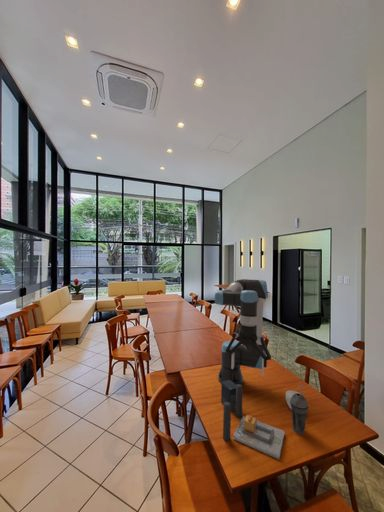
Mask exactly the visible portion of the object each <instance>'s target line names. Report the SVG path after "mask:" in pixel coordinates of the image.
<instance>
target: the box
mask: <svg viewBox="0 0 384 512" xmlns="http://www.w3.org/2000/svg"><path fill="white" fill-rule="evenodd" d="M220 387H221V390H220V392H221V394H220V395H221V398H220V401H221V404H223V405H224V403H225V402H229V403H230V404H231V411H234V410H236V384H234V383H233V382H232V381H231V380H227V381H223V382H222V383H221V385H220Z"/></svg>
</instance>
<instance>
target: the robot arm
mask: <svg viewBox="0 0 384 512" xmlns="http://www.w3.org/2000/svg"><path fill="white" fill-rule="evenodd" d="M268 298H269V294H268V285H267V281H266V280H262V279H248V278H247V279H246V278H243V279H237V280H233V281H232V282H230V283H229V284H228V287H227V288H225V289H223V290H222V289H221V290H219V289H218V290H216V291H215V292H214V303H215V305H220V306H229V307H238V308H239V307H240V315H239V323H240V325H239V333H237V332H236V331H234V332H233V333H232V337H231V339H230V340H226V341H224V342H223V343H222V345H221V358H220V359H221V364H220V365H221V367H220V370H219V372H218V376H217V378H218V379H217V380H218V382H219V383H220V384H222V382H223V381H227V380H231V381H232V382H233V383H234V384H236V385H237V384H241V385H242V384H243V382H244V377H243V374H242V373H243V372H242V370H241V366H242V367H245V368H246V367H247V368H252V369H255V370H257V369H259V370H261V376H264V374H265V368H267V365H268V362H267V361H270V360H271V359H272V354H271V353H270V351H269V349H268V347H267V345H266V342H265V337H264V335H263V318H264V317H263V316H264V303H265V302H266V300H267V299H268ZM237 338H239V340H236V339H237Z"/></svg>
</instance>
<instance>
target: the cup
mask: <svg viewBox="0 0 384 512" xmlns="http://www.w3.org/2000/svg"><path fill="white" fill-rule="evenodd" d="M295 393H299V394H300V392H298V391H296V390H287V391H286V392H285V401H286V404H287V406H288V407H289V409H290V410H291V403H290V399H291V397H292V395H293V394H295Z"/></svg>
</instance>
